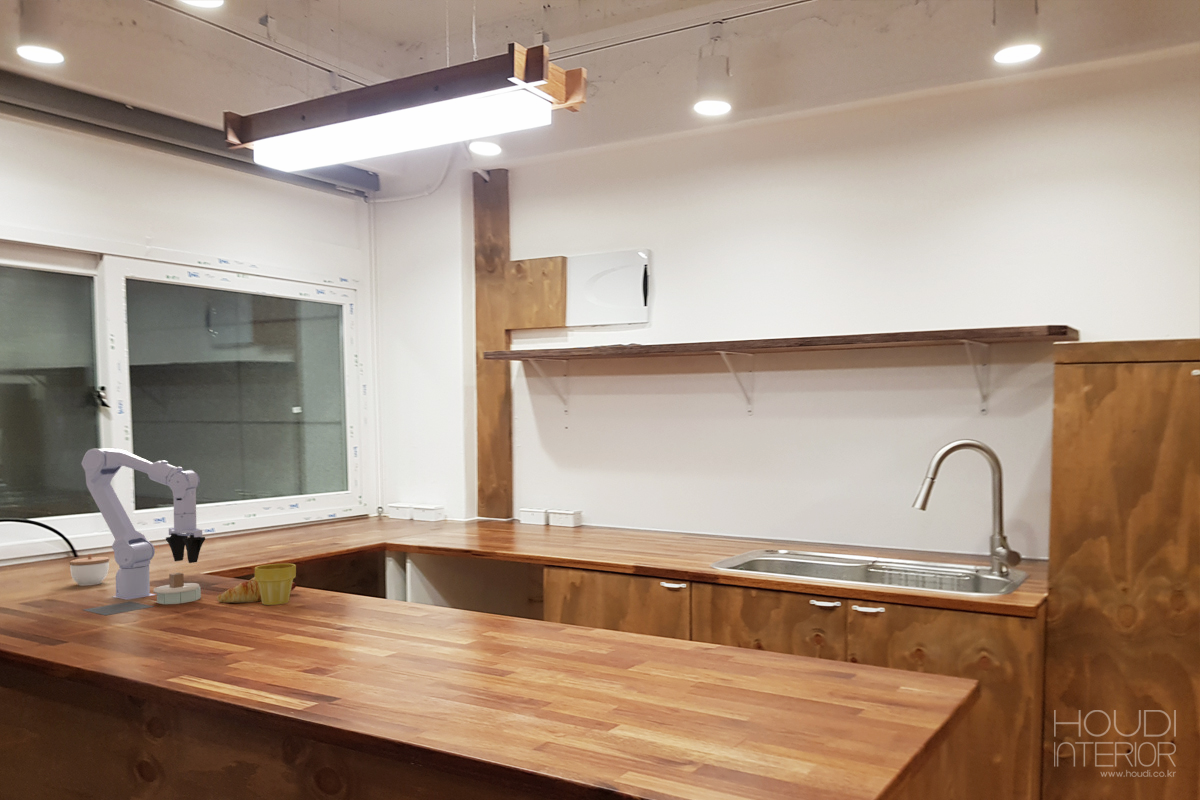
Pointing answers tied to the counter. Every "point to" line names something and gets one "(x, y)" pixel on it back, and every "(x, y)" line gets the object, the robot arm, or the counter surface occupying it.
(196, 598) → the bowl
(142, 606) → the mat
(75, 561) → the lidded jar
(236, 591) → the croissant
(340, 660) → the counter surface
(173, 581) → the lid
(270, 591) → the plant pot
